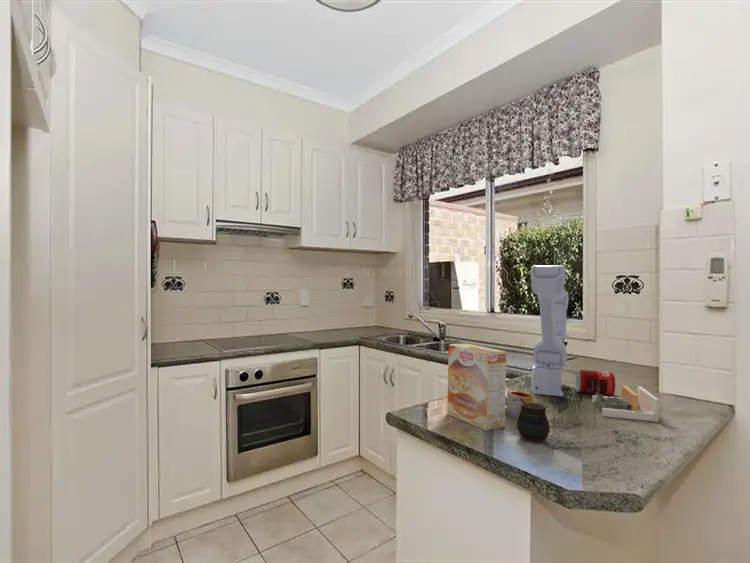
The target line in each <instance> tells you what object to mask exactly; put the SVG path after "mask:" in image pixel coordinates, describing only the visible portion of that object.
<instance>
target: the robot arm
mask: <svg viewBox="0 0 750 563" xmlns="http://www.w3.org/2000/svg"><path fill="white" fill-rule="evenodd" d="M565 281H566V267H565V266H564V265H563V264H560V265H553V264H552V265H551V264H550V265H549V264H548V265H536V264H533V265H532V267H531V269H530V284H531V286H530V287H531V289H532V290H531V291H532V292H533V294H535V295H537V300H538V303H539V313H540V314H539V315H540V316H539V317H540V329H541V330H540V331H541V338H539V339H537V341H536V342H535V343H534V346H533V362H534V364H536V365H532V368H531V382H530V387H531V391H532V395H533V394H534V395H544V396H555V397H564V393H563V392H562V368H564V367H565V366H566V365H567V360H568V359H567V358H568V356H567V349H566V348H567V345H568V343H569V342H568V341H565V338H566V337H571V336H570V334H569V333H567V314H568V313H567V310H568V307H569V306H568V305H569V292H568V291H567V290H565V286H564V285H565Z"/></svg>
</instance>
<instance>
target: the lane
mask: <svg viewBox="0 0 750 563" xmlns="http://www.w3.org/2000/svg"><path fill="white" fill-rule="evenodd" d="M636 389H637V392H636V394H637V395H638V409H640V410H641V411H639V410H638V411H629V410H619V409H609V408H602V409H601V416H602V417H610V418H619V419H629V420H637V421H650V422H657V423H658V422H659V415H660V414H659V413H660V412H659V410H660V406H659V404H660V403H659V402H660V399H659V398H657V397H656V396H655V395H653V394H652V393H650V392H649V391H648V390H647V389H645V388H644V387H643V386H641V385H639V386H637V388H636ZM591 395H592V394H591ZM591 397H592V398H591V399H592V401H591V402H592V403H595V404H596V399H597V394H593V395H592V396H591ZM608 397H610V398H614V397H615V396H608V395H603V398H604V399H608ZM617 398H619V397H618V396H617Z"/></svg>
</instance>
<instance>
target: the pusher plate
mask: <svg viewBox="0 0 750 563" xmlns="http://www.w3.org/2000/svg"><path fill="white" fill-rule="evenodd" d="M620 387H621V389H620V390H621V391H620V392H621V394H620V395H621V396H620V398H623V399H624V400H625V401H627V402H628V403H629V404H630V405H629V411H639V407H638V395H637V392H635V391H633V390H632V389H631V388H630V387H628V386H627V385H625V384H621V386H620Z"/></svg>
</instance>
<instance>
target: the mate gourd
mask: <svg viewBox="0 0 750 563" xmlns="http://www.w3.org/2000/svg"><path fill="white" fill-rule="evenodd" d="M520 400H521V401H522V404H521V412H520V415H519V417H518V420H516V428H517V430H518V434H519V435H520V436H521V438H523V439H524V440H526V441H528V442H533V443H534V442H535V443H544V441H546V439H547V438H548V437H549V433H550V428H551V426H550V422H549V419H548V418H547V414H546V412H547V406H546V405H544V404H542V403H539V402H534V401H533V402H524V401H523V400H522V398H520Z"/></svg>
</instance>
